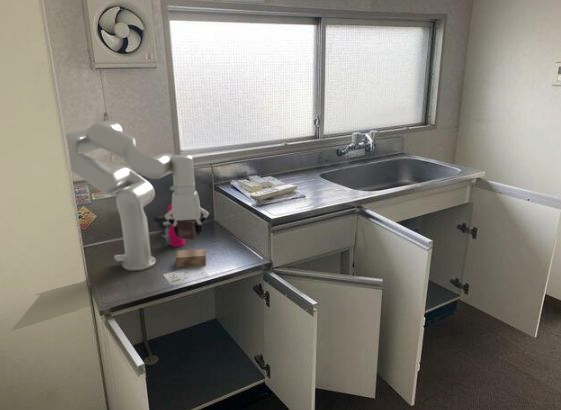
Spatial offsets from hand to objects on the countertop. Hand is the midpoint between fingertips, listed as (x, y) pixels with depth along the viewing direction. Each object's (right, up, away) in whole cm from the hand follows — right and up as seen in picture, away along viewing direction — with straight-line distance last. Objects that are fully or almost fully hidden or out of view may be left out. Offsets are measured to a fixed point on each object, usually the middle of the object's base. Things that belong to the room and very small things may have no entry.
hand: (188, 234), depth 167 cm
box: (0, -1, 0) cm, 1 cm away
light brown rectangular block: (-1, -12, +9) cm, 15 cm away
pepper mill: (-10, -6, +27) cm, 30 cm away
